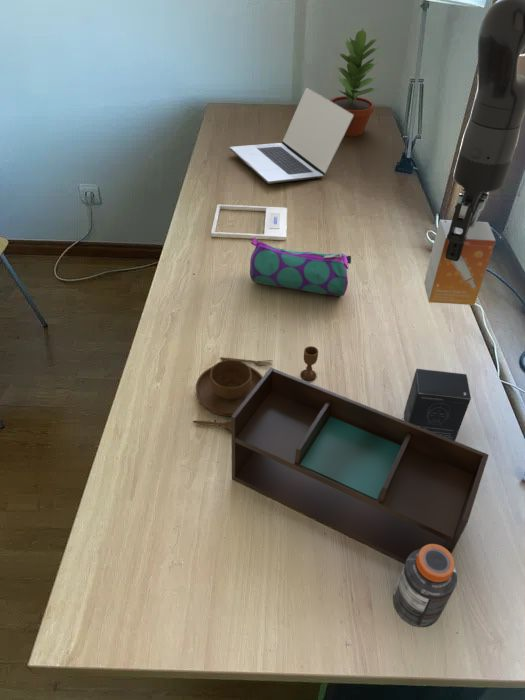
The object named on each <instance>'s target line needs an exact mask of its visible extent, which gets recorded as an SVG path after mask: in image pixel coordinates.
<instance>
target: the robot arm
mask: <svg viewBox="0 0 525 700" xmlns="http://www.w3.org/2000/svg"><path fill="white" fill-rule="evenodd" d="M520 57H525V0H496V1H494V2H493V3H492V5H491V6H490V7H489V8H488V10H487V11H486V13H485V14H484V17H483V18H482V22H481V24H480V28H479V32H478V37H477V89H476V93H475V97H474V100H473V105H472V109H471V111H470V117H469V119H468V122H467V124H466V127H465V129H464V133H463V136H462V139H461V144H460V148H459V152H458V155H457V159H456V163H455V167H454V170H453V180H454V182H455V183H456V184H457V185H458V186H461V187H462V191H461V193H458V196H457V200H456V204H455V206H454V213H453V215H452V218H451V220H452V222H451V226H450V230H449V233H448V235H447V240H450V241H449V244H448V248H447V251H446V255H445V257H446V259H449V260H452V261H458V260H459V258H460V256H461V252H462V249H463V246H464V242H465V240H467V235H468V232H469V229H471V228H473V227H474V225H475V223H476V222H478V218H479V217H480V216H481V214H482V212H484V208H485V206H486V203H487V202H488V198H489V195H490V193H491V192H495V191H498V190H500V189H501V188H502V187H504V185H505V182H506V179H507V176H508V173H509V169H510V167H511V164H512V161H513V158H514V154H515V152H516V148H517V145H518V142H519V137H520V131H521V126H522V123H523V121H524V118H525V76H524V75H522V74H519V73H518V63H519V58H520ZM456 228H461V229H463V232H462V233H459V232H455V230H456Z"/></svg>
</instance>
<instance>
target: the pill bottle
mask: <svg viewBox="0 0 525 700" xmlns="http://www.w3.org/2000/svg"><path fill="white" fill-rule="evenodd" d="M455 565H456V564H455V558H454V557H453V555H452V554H451V553H450V552H449V551H448V550H447V549H446V548H444V547H442V546H440V545H437V544H428V545H425V546H424V547H422V548H421V549H418V550H415V551H414V552H412V553H411V554H410V555H409V556H408V558H407V560H406V562H405V564H403V567H402V570H401V573H400V575H399V578H398V580H397V582H396V586H395V588H394V590H393V594H392V604H393V608H394V611H395V613H397V616H399V618H400V619H401V620H402V621H404V622H405V623H406V624H408V625H410V626H411V627H415V628H428V627H431V626H433V625H434V624H436V623H437V622H438V620H439V619H440V617H441V615H442V613H443V611H444V610H445V607H446V606H447V604H448V602H449V600H450V598H451V596H452V595H453V593H454V591H455V590H456V587H457V583H458V573H457V570H456V567H455Z"/></svg>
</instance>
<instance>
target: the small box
mask: <svg viewBox="0 0 525 700" xmlns="http://www.w3.org/2000/svg"><path fill="white" fill-rule="evenodd" d="M451 222H452V219H439V220H438V225H437V229H436V233H435V237H434V241H433V245H432V249H431V252H430V256H429V261H428V265H427V270H426V273H425V278H424V282H423V284H424V289H425V293H426V298H427V302H428V303H430V304H431V303H432V304H433V303H434V304H449V305H450V304H451V305H452V304H453V305H465V306H475V304H476V302H477V299H478V295H479V293H480V290H481V286H482V284H483V281H484V278H485V275H486V272H487V268H488V266H489V263H490V260H491V257H492V254H493V251H494V248H495V245H496V240H497V239H496V238H495V236H494V232H493V231H492V229H491V226H490V224H489V222H488V221H477V222H476V223H475V225H474V227H473V228H471V229H469V232H468V235H467V240H465V242H464V246H463V249H462V252H461V256H460V258H459V260H458V261H452V260H449V259H446V257H445V255H446V251H447V248H448V244H449V241H450V240H447V235H448V233H449V230H450V226H451ZM455 232H459V233H462V232H463V229H461V228H456V230H455Z"/></svg>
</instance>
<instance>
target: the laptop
mask: <svg viewBox="0 0 525 700" xmlns="http://www.w3.org/2000/svg"><path fill="white" fill-rule="evenodd" d="M330 100H331V99H328V98H326V97H325V96H324V95H321V94H320V93H318V92H317V91H314V90H313V89H311V88H310V87H307V86H306V87H305V88H304V91H303V92H302V94H301V98H300V100H299V102H298V103H297V106H296V109H295V111H294V114H293V116H292V118H291V120H290V123H289V124H288V127H287V130H286V131H285V134H284V136H283V139H282V140H281V142H274V143H273V142H272V143H263V144H250V145H249V144H247V145H236V146H229V150H230V151H231V152H232V153H233V154H234V155H235V156H237V158H239V159H240V160H241V161H242V162H243V163H244V164H245V165H247V167H248V168H250V169H251V170H252V171H254V173H256V174H257V175H258V176H259V177H260V178H261V179H262V180H263V181H264V182H265V183H267V184H268V185H271V184H279V183H287V182H288V183H289V182H290V183H291V182H298V181H307V180H316V179H317V180H318V179H322V178H324V177H325V176H326V175H327V172H328V170H329V168H330V166H331V164H332V162H333V160H334V158H335V156H336V155H337V152H338V149H339V148H340V145H341V144H342V142H343V139H344V137H345V136H344V135H345V133H346V131H347V129H348V127H349V125H350V123H351V121H352V119H353V117H354V115H353V114H352V113H350V112H349V111H347V110H345V109H343V108H342V107H340V106H338V105H337V104H335V103H333V102H332V101H330Z"/></svg>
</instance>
